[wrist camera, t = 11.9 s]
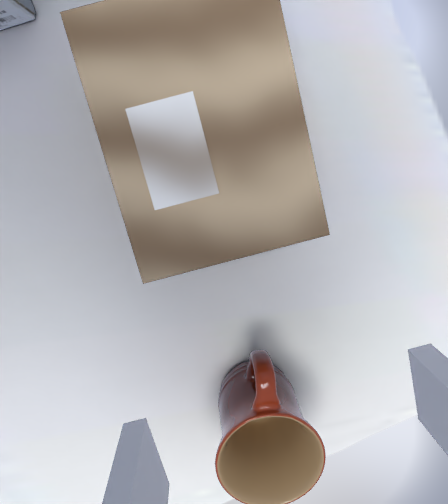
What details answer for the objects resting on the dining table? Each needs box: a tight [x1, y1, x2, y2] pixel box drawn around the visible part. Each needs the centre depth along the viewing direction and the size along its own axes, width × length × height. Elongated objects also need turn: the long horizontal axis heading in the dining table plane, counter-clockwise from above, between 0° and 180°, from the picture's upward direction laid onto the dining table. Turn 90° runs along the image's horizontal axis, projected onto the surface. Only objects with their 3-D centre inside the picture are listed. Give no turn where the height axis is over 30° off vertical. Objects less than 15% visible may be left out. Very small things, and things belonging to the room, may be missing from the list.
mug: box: [215, 350, 325, 504], centre depth 37 cm, size 12×9×10 cm
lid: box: [60, 0, 330, 284], centre depth 25 cm, size 16×12×1 cm
